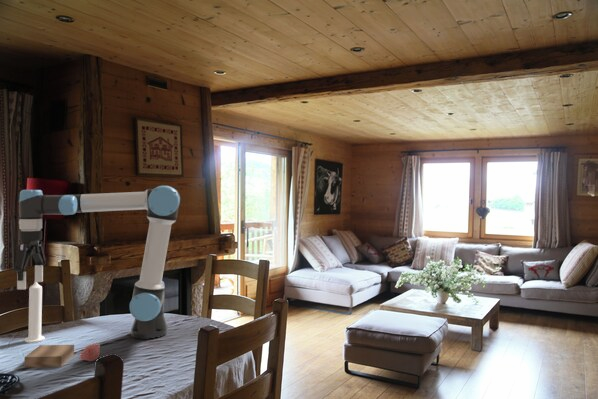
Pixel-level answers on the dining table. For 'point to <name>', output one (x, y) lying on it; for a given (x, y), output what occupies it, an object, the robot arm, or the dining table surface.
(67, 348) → the walnut base
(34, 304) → the candle
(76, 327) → the dining table surface
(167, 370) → the dining table surface
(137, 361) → the dining table surface
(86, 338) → the dining table surface
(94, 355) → the flower
